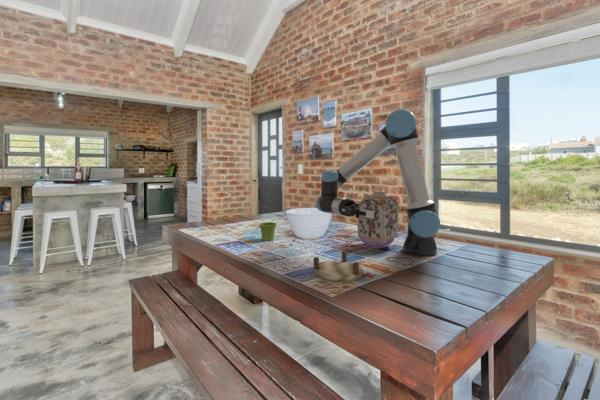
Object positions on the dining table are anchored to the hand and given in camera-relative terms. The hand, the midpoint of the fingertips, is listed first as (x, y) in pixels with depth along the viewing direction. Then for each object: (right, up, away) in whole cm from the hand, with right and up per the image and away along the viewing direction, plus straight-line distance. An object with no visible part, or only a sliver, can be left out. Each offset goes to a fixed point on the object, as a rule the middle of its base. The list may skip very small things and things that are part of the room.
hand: (384, 213), depth 123 cm
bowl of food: (+5, -18, +36) cm, 41 cm away
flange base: (-18, -22, -3) cm, 29 cm away
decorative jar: (-2, -10, +4) cm, 11 cm away
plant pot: (-50, -16, +48) cm, 71 cm away
